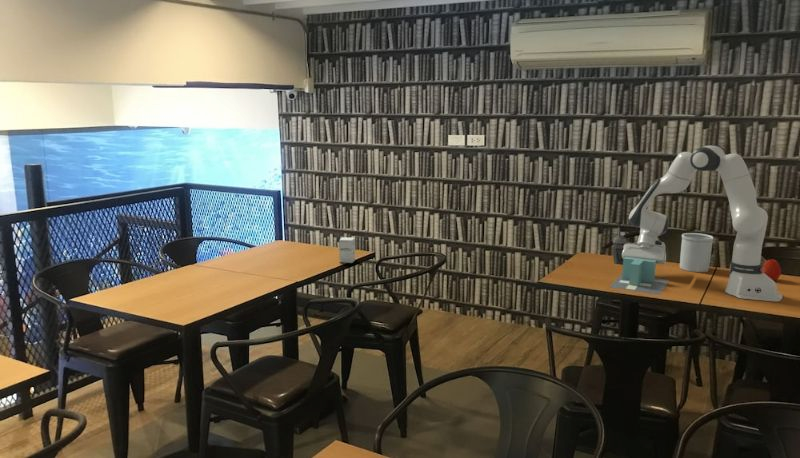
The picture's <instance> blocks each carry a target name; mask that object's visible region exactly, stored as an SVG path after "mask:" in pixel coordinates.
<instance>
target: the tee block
mask: <svg viewBox="0 0 800 458" xmlns="http://www.w3.org/2000/svg"><path fill="white" fill-rule="evenodd" d="M656 264H657V263H656V260H648V259H640V258H631V257H625V258H624V259H623V265H622V273H621V274H622V279H628V280H629V285H635V286H638V285H639V284H640V283H641V282H642V281H643V282H650V283H653V282H654V280H655V278H656V277H655V276H656V266H657V265H656Z"/></svg>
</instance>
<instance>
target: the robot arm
mask: <svg viewBox="0 0 800 458" xmlns="http://www.w3.org/2000/svg"><path fill="white" fill-rule="evenodd" d="M697 171H700V172H701V171H702V172H714V171H717V172H718V173H719V175H720V178H721V180H722V183H723V186H724V190H725V193H726V195H727V199H728V202H729V203H728V204H729V210H730V214H731V215H730V217H731V220H732V227H733V229H734V230H735V232H736V236H735V239H734V243H733V248H732V256H731V261H730V264H729V278H728V282H727V285H726V287H725V290H724V292H725V293H727V295H731V296H734V297H736V298H739V299H741V300H742V299H745V300H755V301H764V302H775V303H776V302H777V303H778V302H782V301H783V294H781V293H780V292H779V291H778V285H777V283H776V282H775V281H773V280H772V279H771V278H769V277H768V276H767V275H766V274H765V273H764V272H765V271H766V269H765V267H764V265H763V264H762V263H761V258H762V250H763V244H764V240H765V235H766V230H767V226H768V221H769V219H768V218H769V216H768V213H767V211H766V209H764V208H762V207H760V206H758V201H757V194H756V193H757V191H756V189H755V186H754V183H753V180H752V177H751V174H750V171H749V168H748V166H747V164H746V163H745V161H744V159H743V156H741V154H738V153H728V154H727V151H726V150H725V148H723V147H722V146H719V145H716V144H713V145H704V146H701V147H697V148H696V149H694V151H692V152H689V151H682V152H680V153H678V154H677V156H676V157H675V158H674V160H673V161H672V163H671V164H670V166H669V168H668V170H667V171H666V173H665V174H664V176H661V178H656V179H655V180H654V181H653V182H652V183H651V185H650V186H649V187H648V189H647V190H646V192H644V194H643V196H642V197H641V198H640V200H639V201H638V203H636V205H635V206H634V207H633V209H632V210H630V213H629V215H628V222H629V224H630V225H631V226H632V227H636V228H640V230H639V235H638V238H637V241H636V242H627V243H626V244H624V247H623V252H622V258H623V259H624V258H625V257H631V258H640V259H648V260H656V264H657V265H658V264H659V265H664V264H666V261H667V253H666V252H667V251H666V244H665V242H664V241H660V240H658V237H660V236H663V235H664V234H666V233H667V231H668V229H669V225H670V220H669V217H668V215H665V214H664V213H663V214H662V213H661V212H657V211H653V210H650V209H648V206H649V205H650V204H651V202H652V201H653V200H654V198H655V197H656V196H658V195H663V194H677V193H682V192H684V191H685V190H686V189H687V188H688V187H689V185H690V184H691V181H692V179H693V177H694V176H695V174H696V172H697Z"/></svg>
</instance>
